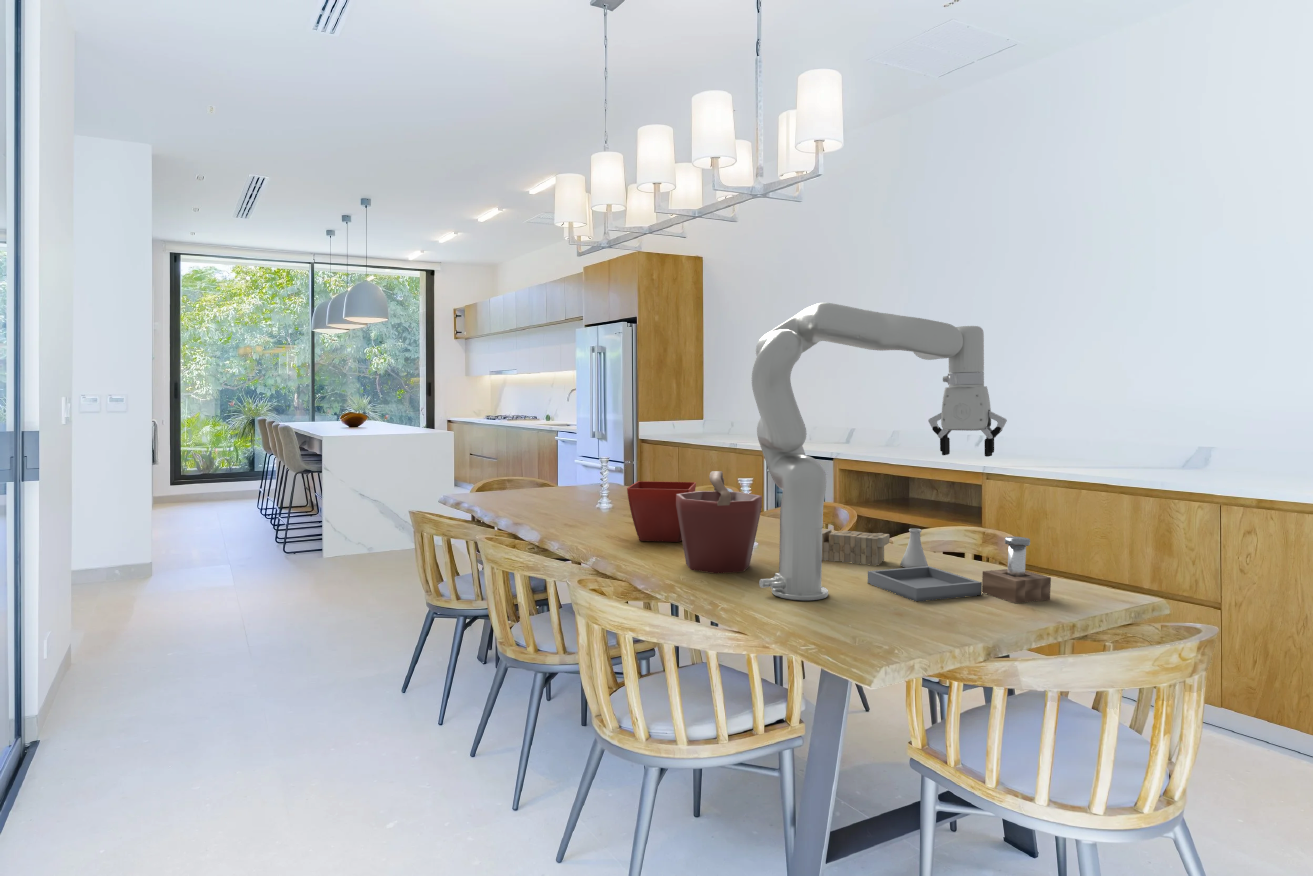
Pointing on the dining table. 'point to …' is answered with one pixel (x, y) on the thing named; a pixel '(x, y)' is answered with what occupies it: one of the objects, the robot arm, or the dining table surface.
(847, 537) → the block tower
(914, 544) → the flask
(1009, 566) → the steel pin
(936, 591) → the tray
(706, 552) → the bucket
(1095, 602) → the dining table surface
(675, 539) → the plant pot
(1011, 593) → the socket block
